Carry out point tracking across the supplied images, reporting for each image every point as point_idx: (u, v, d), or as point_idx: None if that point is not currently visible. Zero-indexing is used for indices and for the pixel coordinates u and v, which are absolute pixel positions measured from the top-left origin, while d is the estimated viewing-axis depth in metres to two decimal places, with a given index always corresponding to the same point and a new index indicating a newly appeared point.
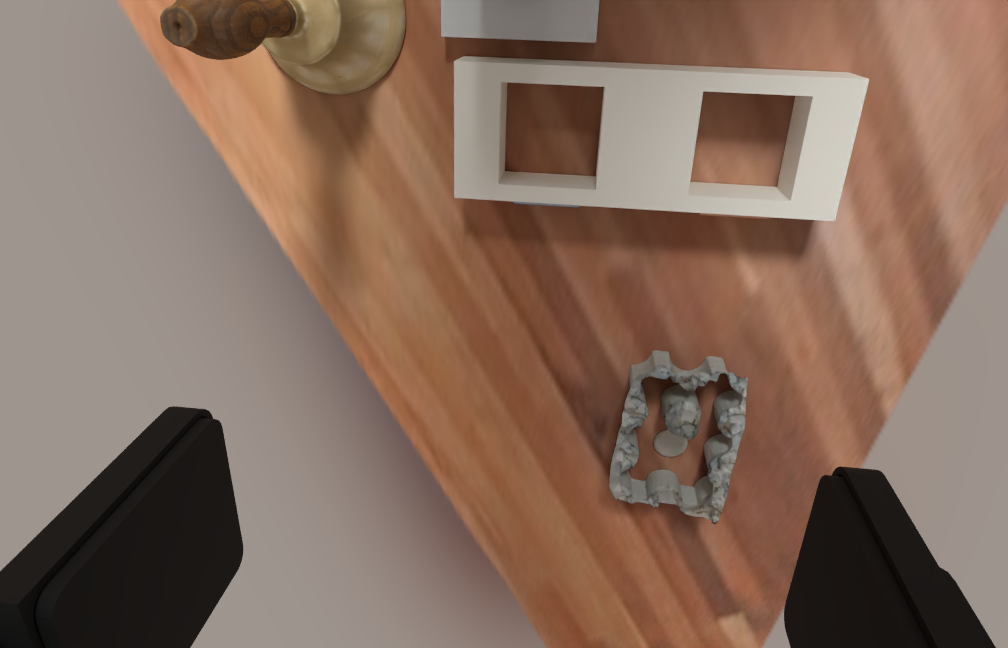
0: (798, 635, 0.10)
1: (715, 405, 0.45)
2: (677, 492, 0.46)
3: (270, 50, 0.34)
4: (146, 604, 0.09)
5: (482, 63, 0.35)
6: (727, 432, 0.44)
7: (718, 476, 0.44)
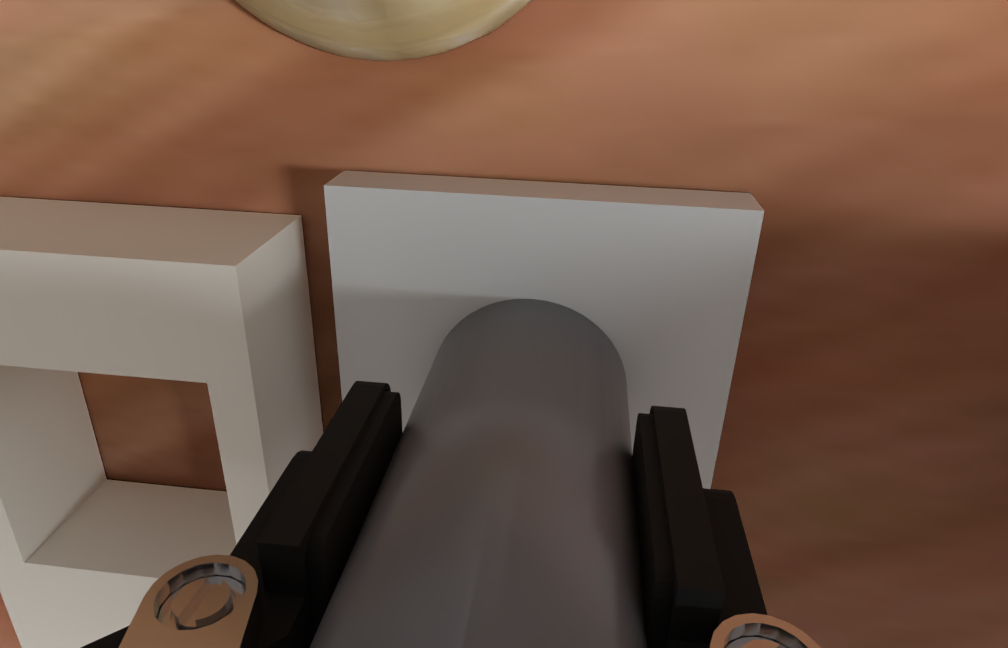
0: None
1: None
2: None
3: None
4: None
5: (244, 340, 0.13)
6: None
7: None
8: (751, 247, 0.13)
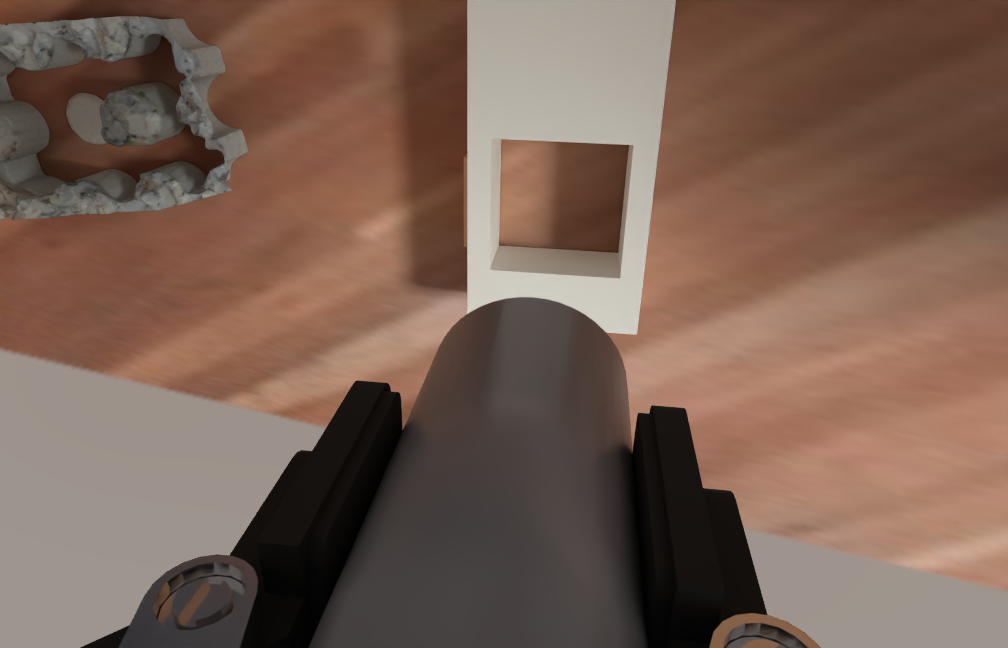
0: None
1: (175, 163, 0.30)
2: (15, 150, 0.30)
3: None
4: None
5: None
6: (141, 190, 0.30)
7: (68, 198, 0.29)
8: None
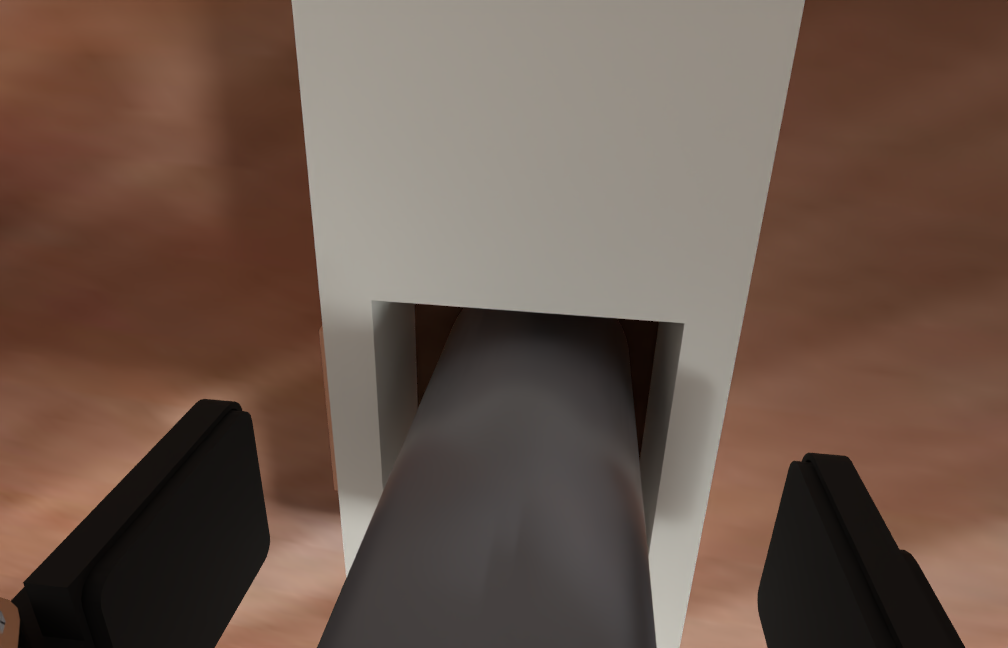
0: (769, 618, 0.11)
1: None
2: None
3: None
4: (183, 590, 0.09)
5: None
6: None
7: None
8: None
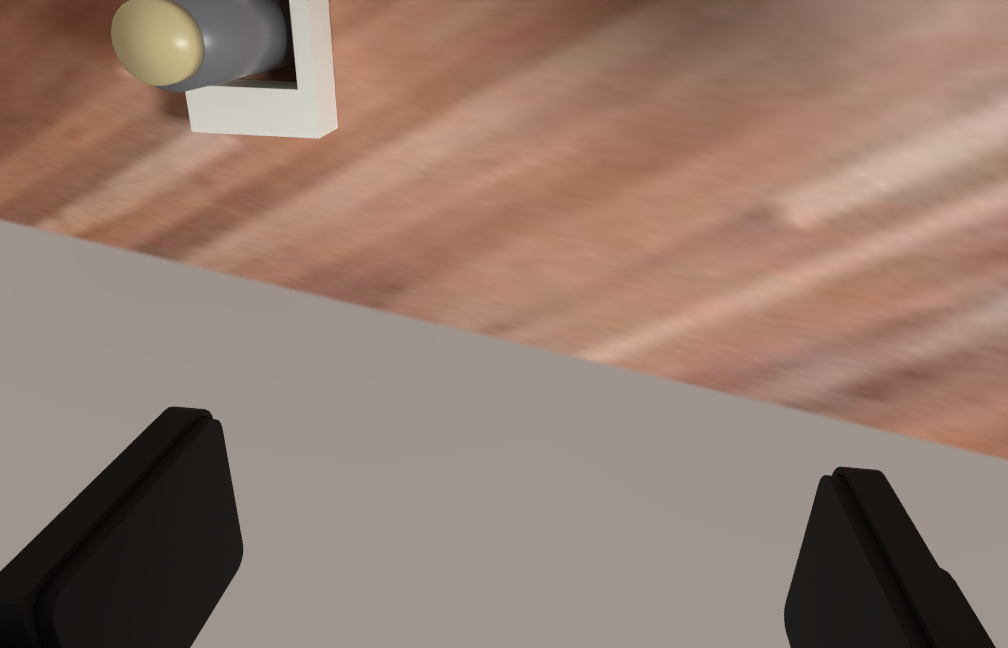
0: (798, 635, 0.10)
1: None
2: None
3: None
4: (146, 604, 0.09)
5: None
6: None
7: None
8: None
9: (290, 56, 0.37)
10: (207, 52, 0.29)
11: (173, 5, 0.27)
